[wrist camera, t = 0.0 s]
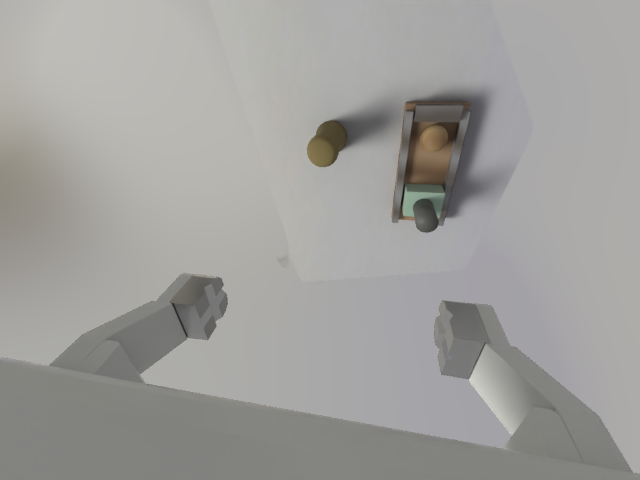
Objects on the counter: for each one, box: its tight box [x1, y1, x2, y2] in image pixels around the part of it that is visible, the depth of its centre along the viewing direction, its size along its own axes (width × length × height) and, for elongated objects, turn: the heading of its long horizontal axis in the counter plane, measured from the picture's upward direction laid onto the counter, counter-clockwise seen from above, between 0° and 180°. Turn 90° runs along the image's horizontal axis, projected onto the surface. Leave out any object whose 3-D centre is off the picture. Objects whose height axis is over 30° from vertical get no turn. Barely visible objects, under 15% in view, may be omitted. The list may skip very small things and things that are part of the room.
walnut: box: [420, 125, 448, 152], centre depth 48 cm, size 4×4×4 cm
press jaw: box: [402, 183, 445, 232], centre depth 51 cm, size 5×7×10 cm
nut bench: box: [392, 102, 471, 226], centre depth 52 cm, size 22×10×4 cm, turn 1°
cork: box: [307, 121, 347, 167], centre depth 50 cm, size 6×6×11 cm
